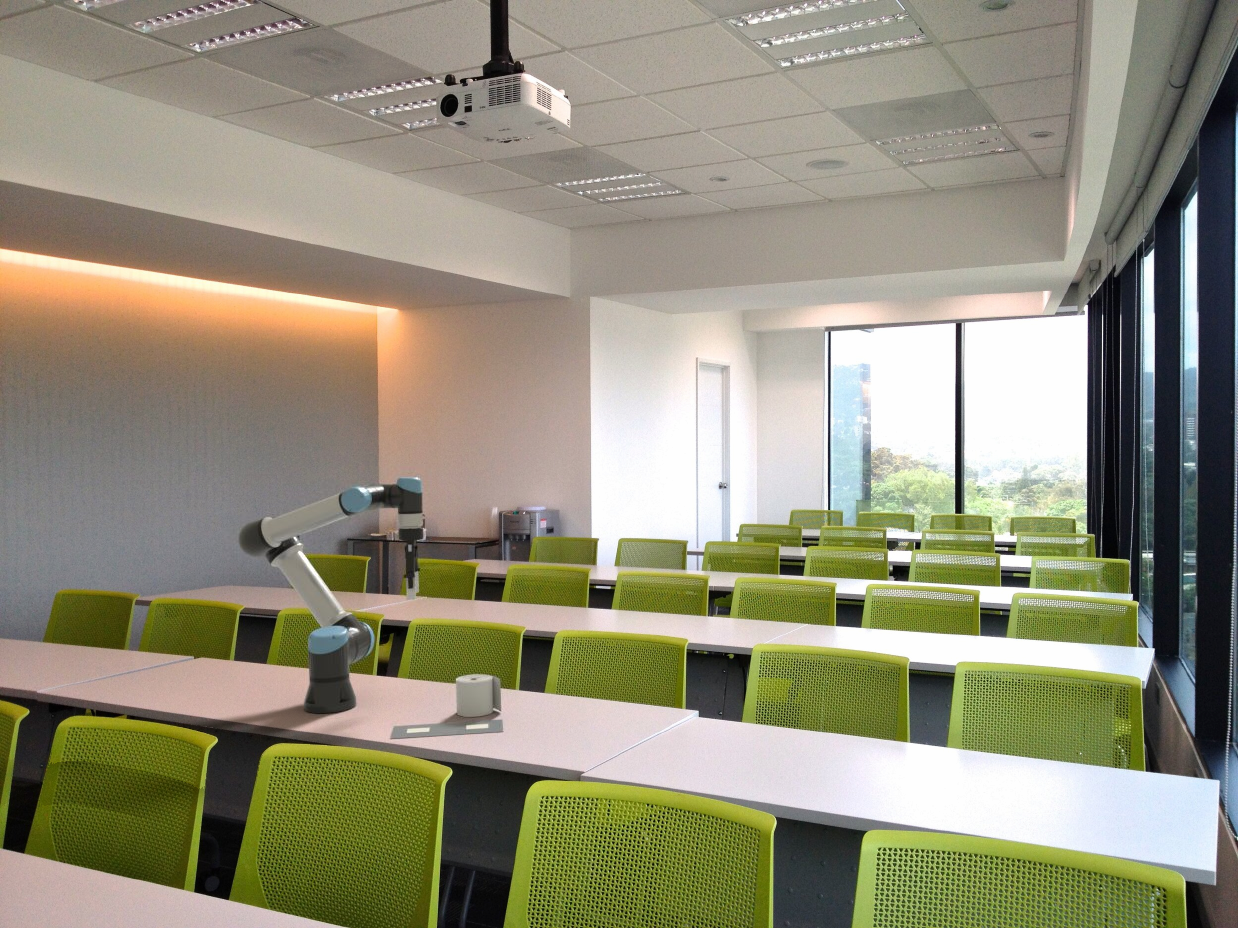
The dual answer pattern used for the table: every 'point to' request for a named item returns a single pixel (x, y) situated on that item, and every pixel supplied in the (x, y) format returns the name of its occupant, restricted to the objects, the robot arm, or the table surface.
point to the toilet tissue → (477, 695)
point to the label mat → (447, 729)
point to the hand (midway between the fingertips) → (412, 595)
